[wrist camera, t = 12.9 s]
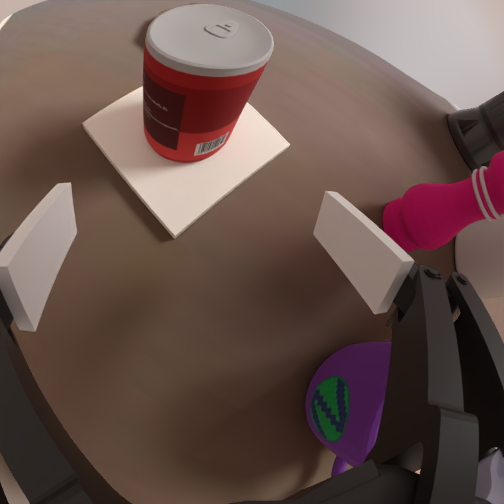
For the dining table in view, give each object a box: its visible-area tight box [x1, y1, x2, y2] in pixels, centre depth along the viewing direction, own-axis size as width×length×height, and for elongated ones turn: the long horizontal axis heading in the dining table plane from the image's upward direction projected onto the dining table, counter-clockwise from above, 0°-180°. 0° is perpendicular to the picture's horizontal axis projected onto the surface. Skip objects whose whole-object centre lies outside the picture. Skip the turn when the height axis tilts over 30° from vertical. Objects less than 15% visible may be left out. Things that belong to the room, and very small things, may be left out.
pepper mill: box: [383, 151, 504, 252], centre depth 20 cm, size 7×7×20 cm
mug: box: [305, 341, 392, 477], centre depth 18 cm, size 17×11×10 cm, turn 170°
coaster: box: [82, 86, 290, 239], centre depth 23 cm, size 14×14×1 cm
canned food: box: [143, 4, 274, 163], centre depth 17 cm, size 8×8×11 cm
